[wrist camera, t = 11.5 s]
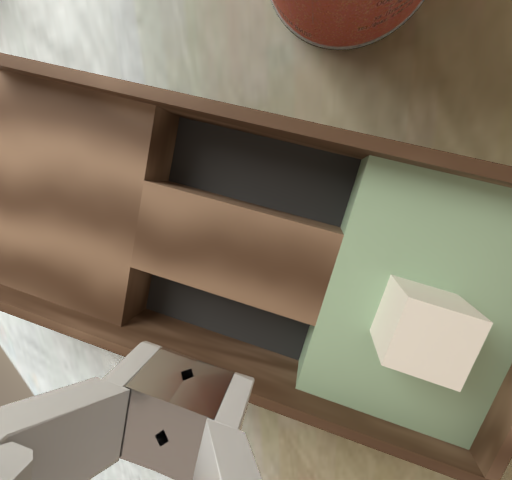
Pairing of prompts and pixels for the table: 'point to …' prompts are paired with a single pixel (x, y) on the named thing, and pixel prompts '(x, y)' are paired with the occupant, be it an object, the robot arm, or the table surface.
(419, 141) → the table surface
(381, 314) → the block
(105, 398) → the robot arm
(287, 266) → the box
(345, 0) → the canned food
